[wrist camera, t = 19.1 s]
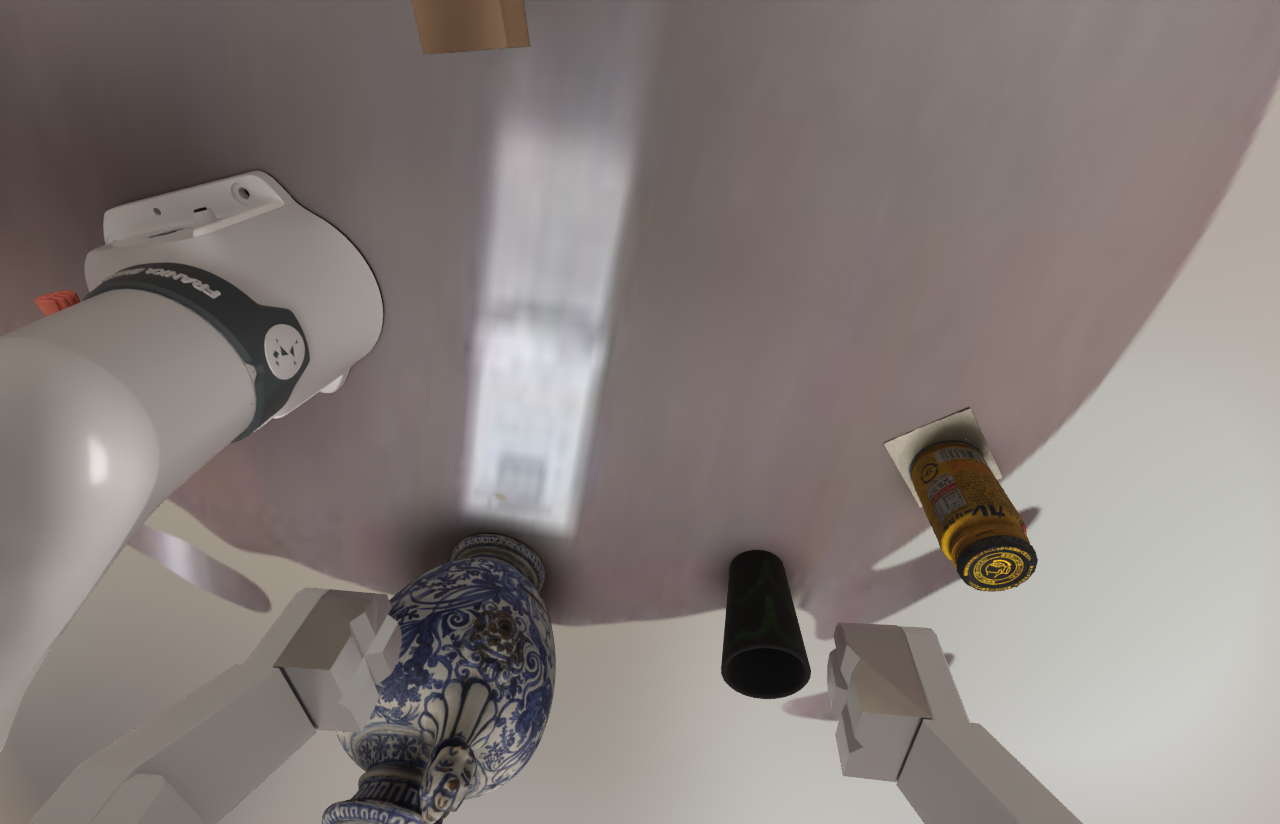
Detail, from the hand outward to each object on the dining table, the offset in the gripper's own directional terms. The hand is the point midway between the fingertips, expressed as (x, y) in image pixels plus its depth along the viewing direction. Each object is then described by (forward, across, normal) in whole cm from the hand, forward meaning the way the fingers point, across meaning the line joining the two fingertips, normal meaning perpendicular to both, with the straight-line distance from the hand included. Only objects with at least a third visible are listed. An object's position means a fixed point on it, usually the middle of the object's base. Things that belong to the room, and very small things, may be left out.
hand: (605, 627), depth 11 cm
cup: (+37, -8, +38) cm, 54 cm away
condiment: (+37, -23, +23) cm, 50 cm away
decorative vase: (+37, +20, +40) cm, 58 cm away
